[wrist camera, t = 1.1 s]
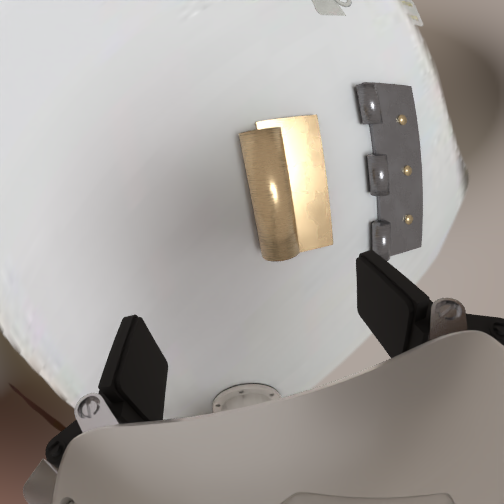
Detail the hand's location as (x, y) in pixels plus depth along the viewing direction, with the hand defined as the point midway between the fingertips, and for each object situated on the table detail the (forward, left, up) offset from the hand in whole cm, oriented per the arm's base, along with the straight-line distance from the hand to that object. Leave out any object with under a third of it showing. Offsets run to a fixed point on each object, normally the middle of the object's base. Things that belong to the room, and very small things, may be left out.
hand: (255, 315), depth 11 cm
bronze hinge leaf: (+1, -7, -22) cm, 23 cm away
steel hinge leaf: (+1, -23, -21) cm, 32 cm away
